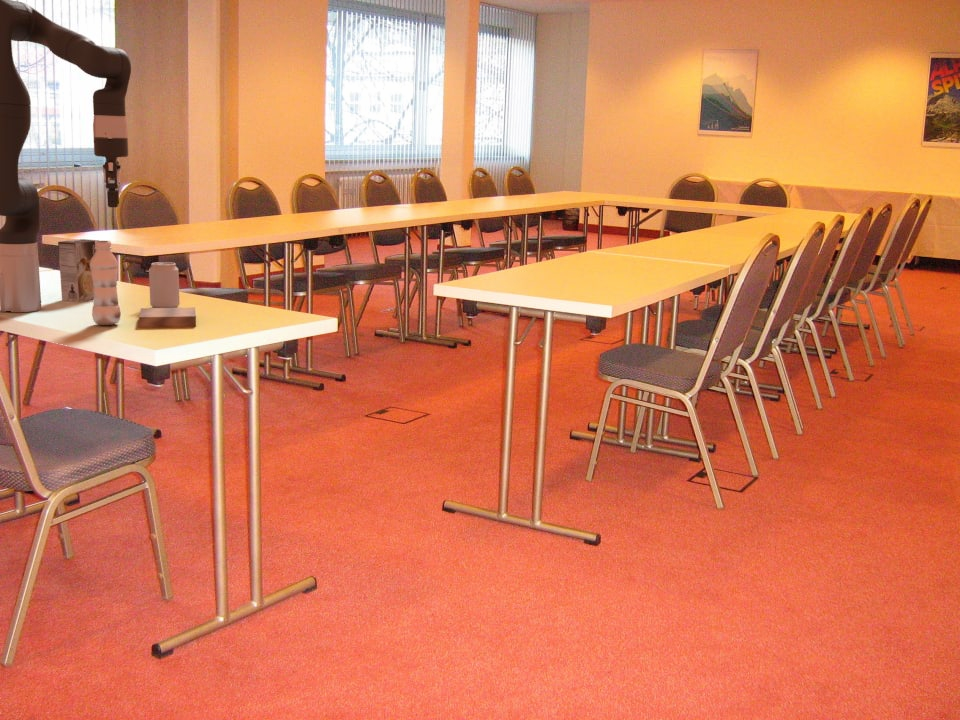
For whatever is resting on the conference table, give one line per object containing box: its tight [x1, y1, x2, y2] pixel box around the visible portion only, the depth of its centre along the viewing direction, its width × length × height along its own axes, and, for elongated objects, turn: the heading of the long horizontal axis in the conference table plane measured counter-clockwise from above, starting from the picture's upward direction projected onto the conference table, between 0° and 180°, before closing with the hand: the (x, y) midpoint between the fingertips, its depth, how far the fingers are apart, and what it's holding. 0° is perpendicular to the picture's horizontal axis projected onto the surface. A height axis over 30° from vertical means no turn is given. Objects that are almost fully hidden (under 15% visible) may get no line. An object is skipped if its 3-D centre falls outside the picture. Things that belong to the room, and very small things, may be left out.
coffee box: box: [57, 238, 100, 303], centre depth 273 cm, size 9×6×16 cm
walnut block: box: [138, 307, 197, 328], centre depth 245 cm, size 13×13×2 cm
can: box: [148, 261, 181, 308], centre depth 264 cm, size 8×8×12 cm
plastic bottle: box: [90, 240, 121, 327], centre depth 237 cm, size 6×7×20 cm
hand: (113, 205), depth 237 cm, fingers open, 8 cm apart
